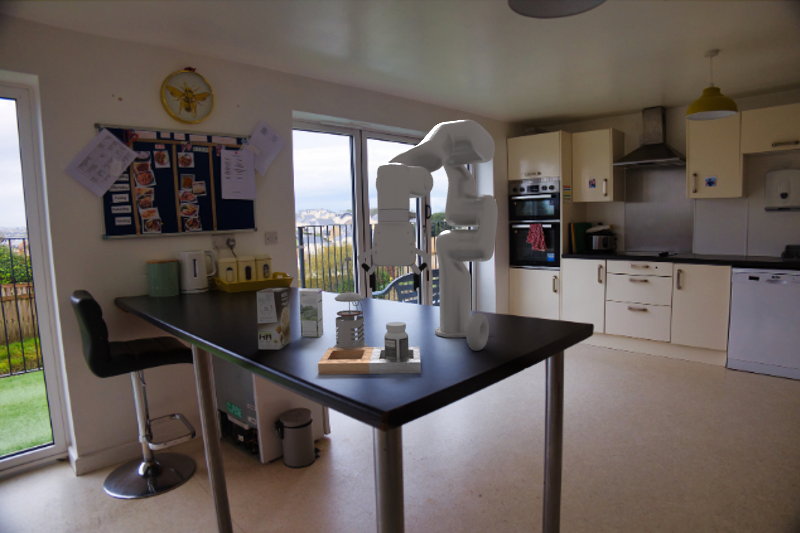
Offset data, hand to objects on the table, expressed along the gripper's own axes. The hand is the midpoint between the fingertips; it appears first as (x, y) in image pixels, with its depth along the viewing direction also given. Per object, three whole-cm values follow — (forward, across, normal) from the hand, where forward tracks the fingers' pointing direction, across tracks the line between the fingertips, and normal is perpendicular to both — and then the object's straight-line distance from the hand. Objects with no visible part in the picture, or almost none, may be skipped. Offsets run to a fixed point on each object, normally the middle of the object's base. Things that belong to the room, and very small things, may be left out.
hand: (394, 291), depth 111 cm
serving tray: (+18, +6, -1) cm, 19 cm away
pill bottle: (+18, 0, -1) cm, 18 cm away
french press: (+18, +13, -19) cm, 29 cm away
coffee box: (+18, +35, -21) cm, 44 cm away
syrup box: (+18, +27, -33) cm, 46 cm away
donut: (+18, -21, -13) cm, 30 cm away
